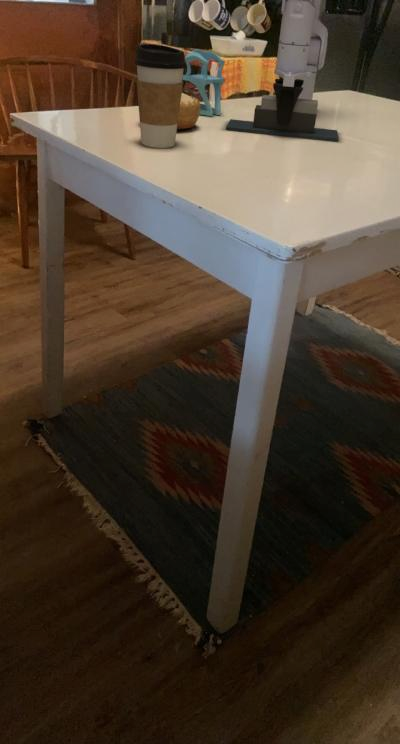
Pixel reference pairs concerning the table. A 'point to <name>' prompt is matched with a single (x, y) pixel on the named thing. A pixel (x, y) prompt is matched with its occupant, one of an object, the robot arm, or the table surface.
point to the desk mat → (248, 127)
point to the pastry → (188, 112)
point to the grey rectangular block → (300, 118)
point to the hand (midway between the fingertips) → (283, 121)
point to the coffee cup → (159, 93)
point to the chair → (206, 79)
